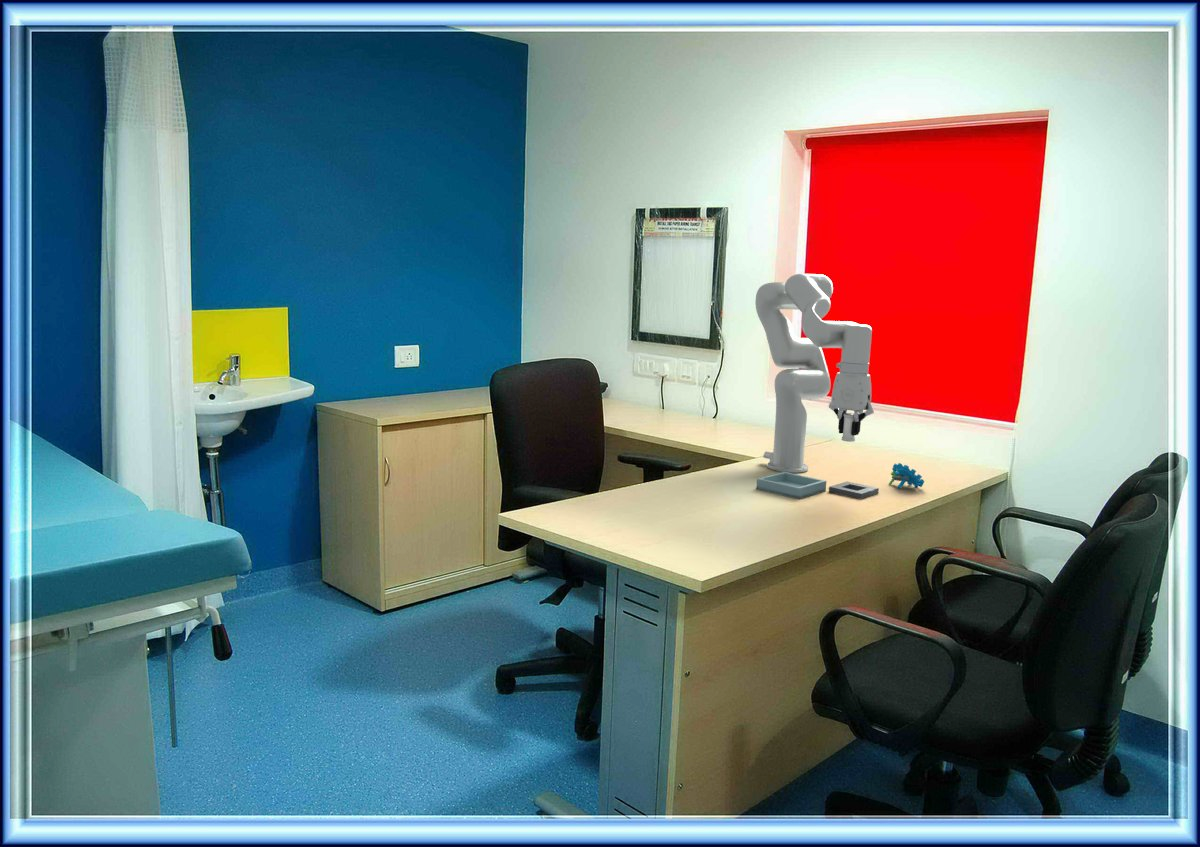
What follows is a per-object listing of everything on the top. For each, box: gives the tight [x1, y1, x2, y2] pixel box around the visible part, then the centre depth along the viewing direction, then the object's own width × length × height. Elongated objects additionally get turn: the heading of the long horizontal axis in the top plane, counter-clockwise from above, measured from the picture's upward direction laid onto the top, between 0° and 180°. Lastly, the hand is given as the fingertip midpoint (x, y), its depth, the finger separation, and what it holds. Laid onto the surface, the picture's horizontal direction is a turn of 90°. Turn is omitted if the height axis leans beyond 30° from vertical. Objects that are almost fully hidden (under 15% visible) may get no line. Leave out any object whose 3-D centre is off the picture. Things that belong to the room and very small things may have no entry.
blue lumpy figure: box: [888, 462, 925, 490], centre depth 262 cm, size 11×6×10 cm
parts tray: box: [755, 472, 827, 500], centre depth 255 cm, size 14×14×3 cm
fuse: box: [841, 412, 856, 443], centre depth 251 cm, size 4×4×8 cm
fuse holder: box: [828, 481, 880, 500], centre depth 254 cm, size 10×10×2 cm
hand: (848, 433), depth 252 cm, fingers closed on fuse, 3 cm apart
